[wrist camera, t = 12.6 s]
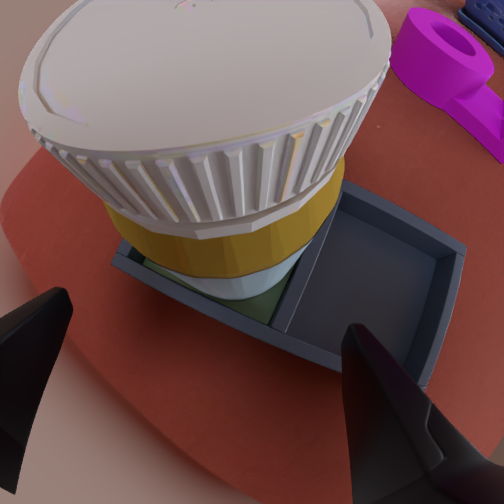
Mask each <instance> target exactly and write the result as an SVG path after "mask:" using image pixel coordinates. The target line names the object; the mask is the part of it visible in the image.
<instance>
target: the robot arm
mask: <svg viewBox="0 0 504 504" xmlns="http://www.w3.org/2000/svg"><path fill="white" fill-rule="evenodd" d="M72 314H73V306H72V303H71V300H70V298H69V295H68V292H67V290H66V289H65V288H61V287H54V288H52V289H50V290H48V291H46V292H45V293H43V294H41V295H39V296H37V297H36V298H34V299H32V300H30V301H29V302H27V303H25V304H23V305H22V306H20V307H19V308H17V309H15V310H13V311H11V312H10V313H8V314H6V315H5V316H3V317H1V318H0V487H1V488H3V489H4V490H6V491H8V492H10V493H12V494H14V495H15V493H16V489H17V484H18V479H19V474H20V470H21V465H22V461H23V457H24V453H25V449H26V445H27V442H28V438H29V435H30V431H31V428H32V424H33V422H34V418H35V415H36V412H37V409H38V406H39V404H40V401H41V398H42V395H43V392H44V390H45V387H46V384H47V381H48V379H49V376H50V374H51V371H52V369H53V366H54V364H55V361H56V359H57V357H58V354H59V352H60V349H61V346H62V343H63V340H64V337H65V334H66V331H67V328H68V325H69V322H70V320H71V317H72ZM341 366H342V395H343V404H344V412H345V420H346V428H347V437H348V447H349V457H350V468H351V481H352V496H353V504H504V466H500V465H497V464H495V463H493V462H491V461H490V460H488V459H487V458H486V457H485V456H483V455H482V454H481V453H480V452H479V451H478V450H477V449H476V448H475V447H474V446H473V445H472V444H471V443H470V442H469V441H468V440H467V439H466V438H465V437H464V436H463V435H462V434H461V433H460V432H459V431H458V430H457V429H456V428H455V427H454V426H453V425H452V424H451V423H450V422H449V421H448V419H447V418H446V417H445V416H444V415H443V414H442V413H441V411H440V410H439V409H438V408H437V407H436V406H435V404H434V403H432V401H431V400H430V399H429V397H428V396H427V395H426V394H425V393H424V392H423V391H422V389H421V388H420V387H419V386H418V385H417V384H416V382H415V381H414V380H413V379H412V378H411V377H410V376H409V374H408V373H407V372H406V371H405V370H404V369H403V368H402V366H401V365H400V364H399V363H398V362H397V361H396V360H395V358H394V357H393V356H392V355H391V354H390V353H389V352H388V351H387V349H386V348H385V347H384V346H383V345H382V344H381V343H380V342H379V341H378V339H377V338H376V337H375V336H374V335H373V334H372V333H371V332H370V331H369V330H368V328H367V327H366V326H365V325H364V324H361V323H351V324H349V326H348V328H347V330H346V333H345V335H344V338H343V340H342V343H341Z"/></svg>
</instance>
